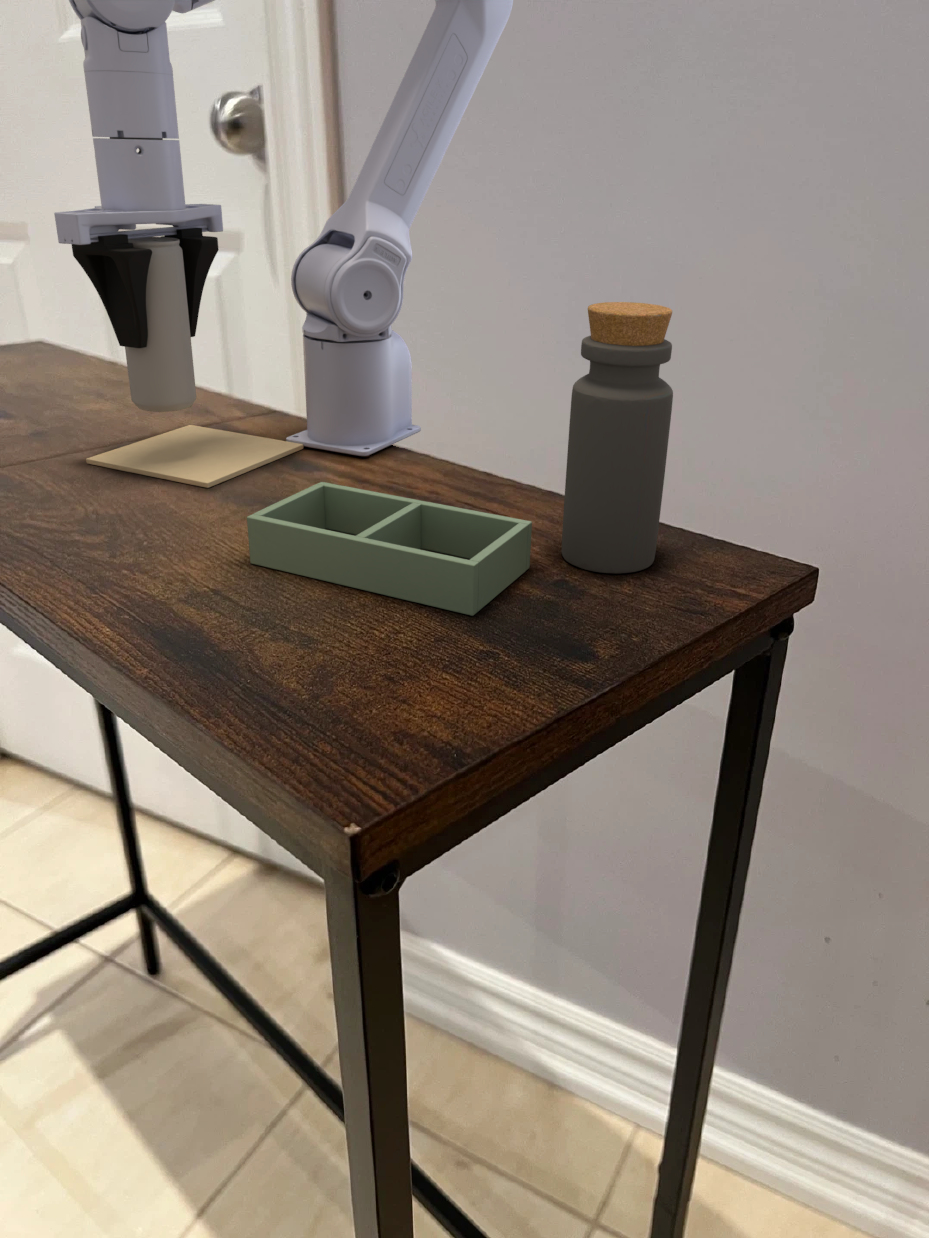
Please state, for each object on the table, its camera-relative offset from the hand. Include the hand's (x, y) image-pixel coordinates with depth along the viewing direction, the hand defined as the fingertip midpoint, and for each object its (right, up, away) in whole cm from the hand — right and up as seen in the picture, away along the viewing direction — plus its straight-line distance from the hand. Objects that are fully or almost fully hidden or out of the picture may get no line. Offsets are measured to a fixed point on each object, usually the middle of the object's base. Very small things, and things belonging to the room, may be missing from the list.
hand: (158, 341), depth 74 cm
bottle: (+32, -17, -12) cm, 38 cm away
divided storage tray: (+18, -18, -14) cm, 29 cm away
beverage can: (0, -5, +2) cm, 5 cm away
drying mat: (+2, -8, +5) cm, 9 cm away
